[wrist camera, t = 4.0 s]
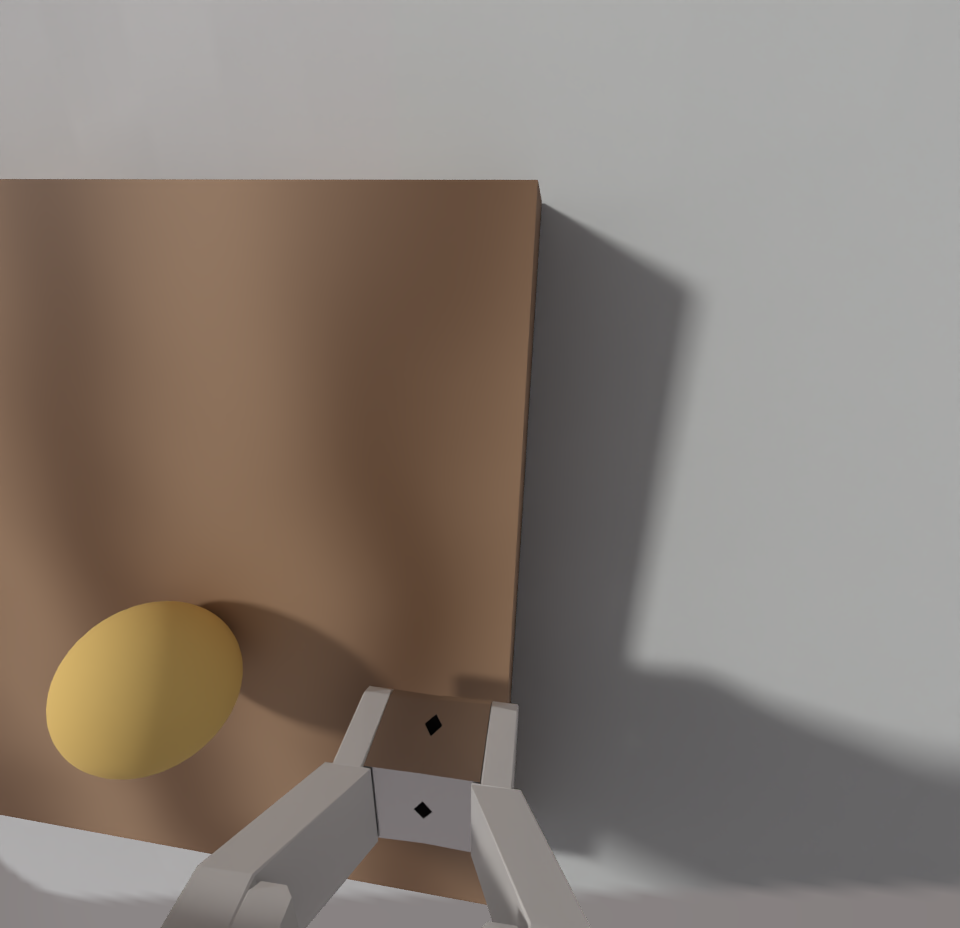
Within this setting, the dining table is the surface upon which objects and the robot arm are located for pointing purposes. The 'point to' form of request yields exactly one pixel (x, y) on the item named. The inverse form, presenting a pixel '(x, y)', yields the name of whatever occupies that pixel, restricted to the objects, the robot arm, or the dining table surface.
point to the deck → (262, 468)
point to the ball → (144, 690)
